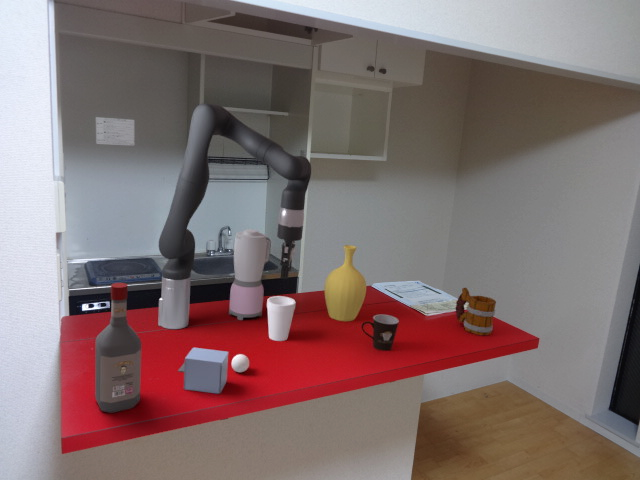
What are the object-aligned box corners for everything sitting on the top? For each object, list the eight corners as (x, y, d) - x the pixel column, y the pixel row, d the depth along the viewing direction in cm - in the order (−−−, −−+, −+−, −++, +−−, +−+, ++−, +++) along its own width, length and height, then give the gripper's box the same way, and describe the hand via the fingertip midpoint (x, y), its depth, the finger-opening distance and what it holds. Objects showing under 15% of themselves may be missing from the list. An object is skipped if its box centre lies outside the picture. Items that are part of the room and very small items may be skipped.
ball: (229, 374, 141) (230, 357, 140) (233, 366, 146) (234, 350, 145) (246, 376, 141) (247, 360, 140) (250, 368, 146) (251, 352, 145)
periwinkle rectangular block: (183, 389, 131) (185, 358, 129) (191, 377, 138) (193, 347, 136) (219, 393, 130) (221, 362, 129) (226, 381, 137) (228, 351, 135)
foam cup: (287, 344, 164) (291, 307, 161) (260, 340, 166) (263, 303, 163) (294, 334, 173) (298, 298, 170) (269, 329, 175) (272, 294, 172)
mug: (483, 338, 187) (489, 300, 183) (446, 323, 198) (452, 287, 195) (497, 333, 194) (504, 296, 191) (461, 318, 206) (467, 284, 202)
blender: (241, 323, 178) (247, 235, 171) (221, 312, 186) (227, 228, 179) (275, 314, 189) (282, 232, 182) (255, 304, 197) (261, 225, 191)
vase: (369, 316, 197) (378, 248, 191) (350, 327, 184) (358, 254, 178) (335, 305, 206) (342, 239, 200) (313, 315, 192) (320, 245, 186)
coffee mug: (397, 344, 173) (400, 317, 171) (392, 354, 165) (396, 326, 163) (364, 337, 176) (368, 310, 174) (358, 346, 168) (361, 318, 166)
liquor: (142, 406, 121) (145, 289, 115) (102, 416, 116) (102, 293, 110) (131, 389, 128) (134, 277, 122) (93, 397, 123) (93, 281, 117)
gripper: (281, 217, 157) (276, 267, 161) (275, 225, 143) (270, 279, 147) (305, 220, 157) (299, 269, 160) (301, 228, 143) (295, 282, 146)
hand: (285, 274), depth 153 cm, fingers open, 8 cm apart
